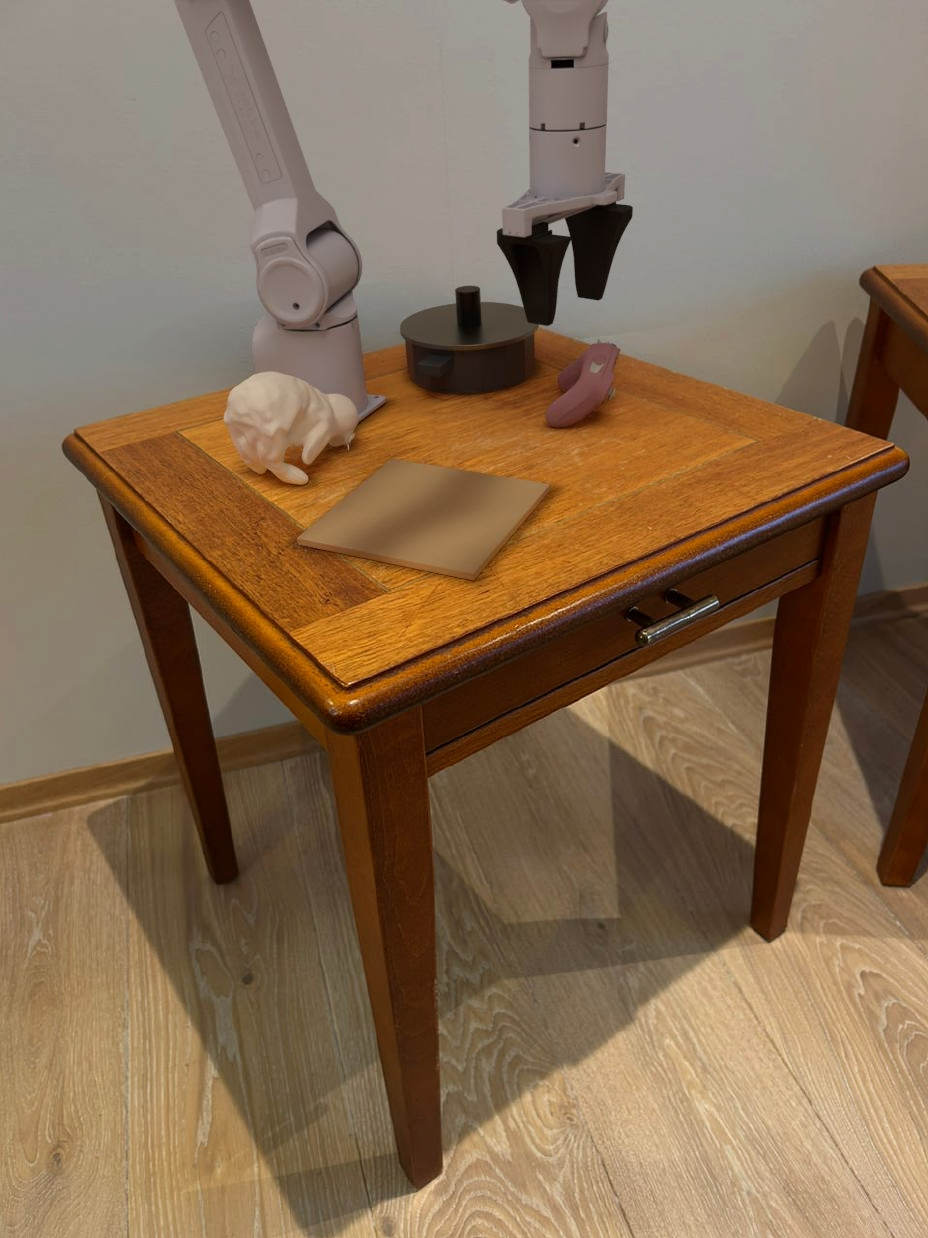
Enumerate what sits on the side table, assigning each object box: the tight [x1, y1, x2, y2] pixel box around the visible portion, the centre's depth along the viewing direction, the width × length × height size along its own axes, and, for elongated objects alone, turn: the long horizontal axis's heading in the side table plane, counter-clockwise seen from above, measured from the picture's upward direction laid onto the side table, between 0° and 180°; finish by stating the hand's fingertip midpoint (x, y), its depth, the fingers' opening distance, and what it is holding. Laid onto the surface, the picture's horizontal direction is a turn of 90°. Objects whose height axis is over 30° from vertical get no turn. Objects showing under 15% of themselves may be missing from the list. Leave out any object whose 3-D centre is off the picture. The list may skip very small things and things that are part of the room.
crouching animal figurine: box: [222, 372, 359, 486], centre depth 79 cm, size 6×8×12 cm
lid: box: [399, 285, 540, 351], centre depth 94 cm, size 14×14×4 cm
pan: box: [404, 333, 536, 395], centre depth 96 cm, size 13×18×4 cm
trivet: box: [296, 458, 551, 582], centre depth 72 cm, size 14×14×1 cm
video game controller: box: [544, 338, 621, 429], centre depth 86 cm, size 10×5×7 cm, turn 168°
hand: (565, 310), depth 79 cm, fingers open, 7 cm apart
